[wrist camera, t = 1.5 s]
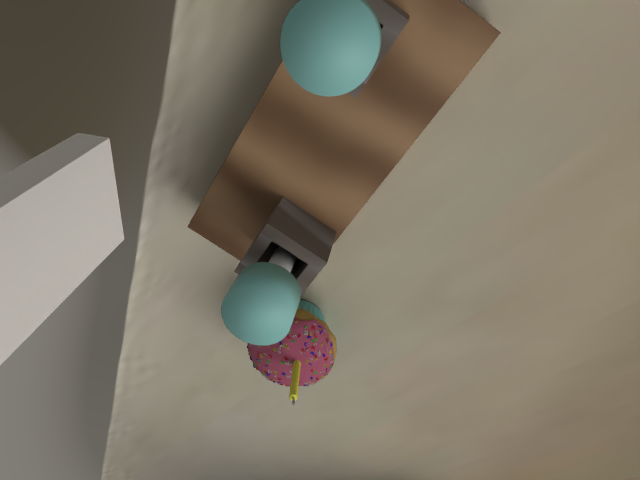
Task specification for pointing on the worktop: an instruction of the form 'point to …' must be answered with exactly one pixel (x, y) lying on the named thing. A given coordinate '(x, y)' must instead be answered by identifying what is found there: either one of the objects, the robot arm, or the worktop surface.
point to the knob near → (330, 44)
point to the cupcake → (298, 351)
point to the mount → (337, 139)
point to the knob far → (263, 300)
